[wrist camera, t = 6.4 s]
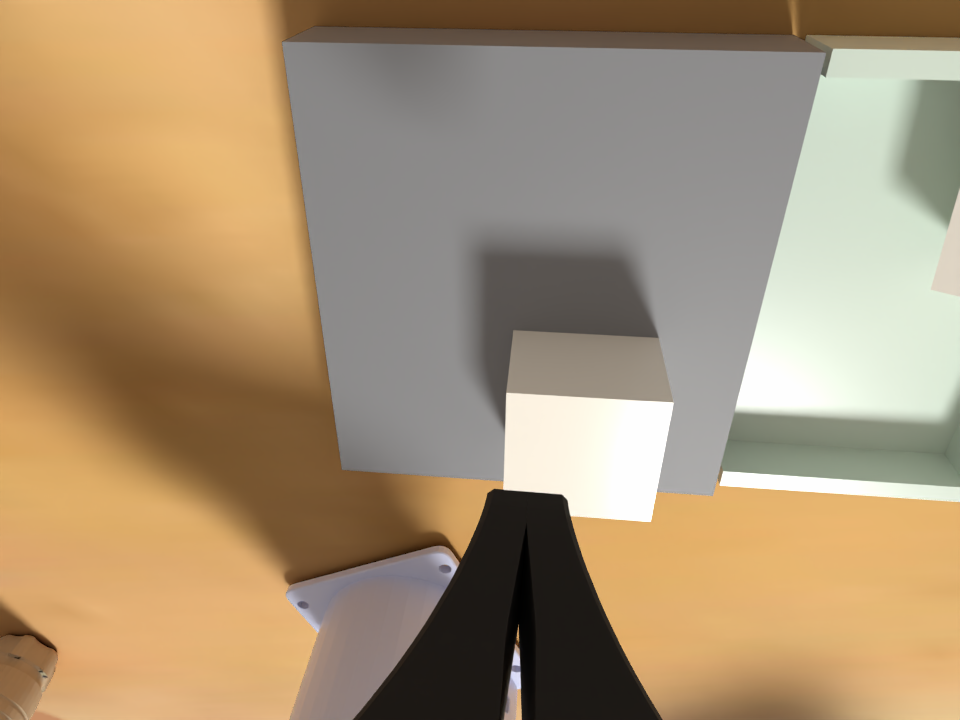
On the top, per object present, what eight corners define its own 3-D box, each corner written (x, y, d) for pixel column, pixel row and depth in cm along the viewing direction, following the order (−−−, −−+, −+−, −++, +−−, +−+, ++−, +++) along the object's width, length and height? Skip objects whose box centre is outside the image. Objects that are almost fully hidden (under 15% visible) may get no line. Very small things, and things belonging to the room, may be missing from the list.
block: (509, 441, 22) (502, 511, 19) (513, 330, 19) (506, 392, 17) (640, 449, 21) (650, 521, 19) (658, 337, 19) (673, 402, 17)
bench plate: (360, 422, 25) (342, 469, 23) (314, 26, 18) (281, 41, 16) (699, 445, 24) (713, 495, 22) (793, 35, 17) (826, 52, 15)
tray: (708, 445, 24) (719, 485, 22) (806, 34, 17) (833, 48, 15) (950, 461, 23) (980, 503, 22) (1158, 41, 16) (1226, 56, 15)
